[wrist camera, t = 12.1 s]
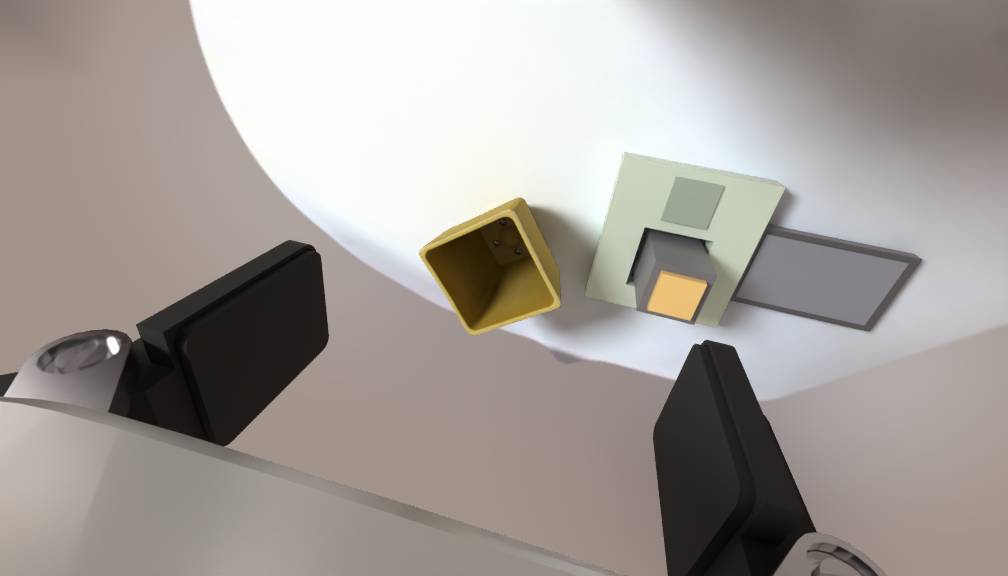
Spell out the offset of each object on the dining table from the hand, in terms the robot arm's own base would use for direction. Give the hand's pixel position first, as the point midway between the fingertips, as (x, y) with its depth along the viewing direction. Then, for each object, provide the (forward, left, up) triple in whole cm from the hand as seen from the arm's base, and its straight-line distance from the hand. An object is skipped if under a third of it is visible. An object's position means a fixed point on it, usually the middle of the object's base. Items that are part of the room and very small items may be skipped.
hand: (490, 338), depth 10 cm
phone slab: (+7, +22, -28) cm, 37 cm away
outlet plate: (+6, +10, -28) cm, 31 cm away
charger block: (+8, +10, -28) cm, 31 cm away
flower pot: (+10, -4, -29) cm, 30 cm away
